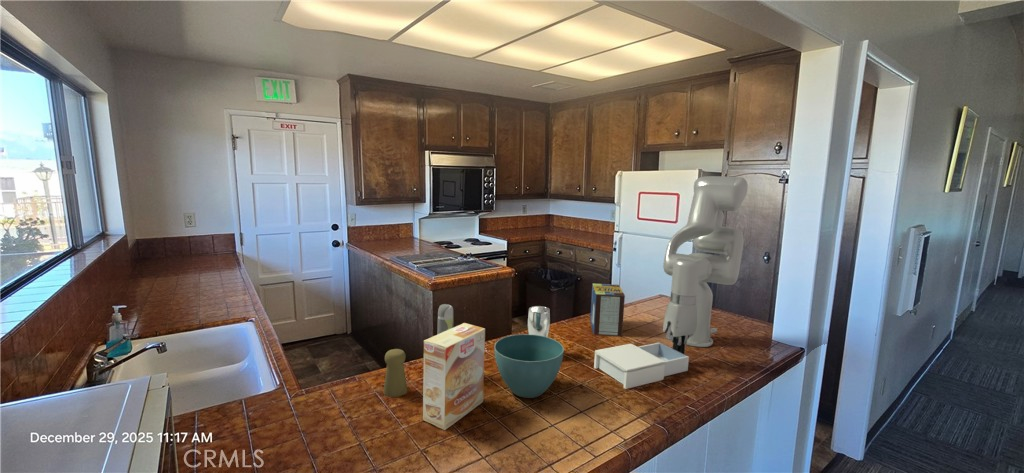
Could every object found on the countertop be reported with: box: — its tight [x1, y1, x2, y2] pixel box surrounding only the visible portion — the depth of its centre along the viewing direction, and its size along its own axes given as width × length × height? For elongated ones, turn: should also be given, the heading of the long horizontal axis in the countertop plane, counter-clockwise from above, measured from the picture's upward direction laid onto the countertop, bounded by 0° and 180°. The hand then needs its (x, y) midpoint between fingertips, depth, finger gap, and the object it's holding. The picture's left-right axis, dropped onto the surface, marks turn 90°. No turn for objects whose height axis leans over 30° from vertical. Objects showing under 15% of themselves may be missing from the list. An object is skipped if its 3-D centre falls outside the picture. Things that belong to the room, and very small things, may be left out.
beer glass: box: [527, 305, 551, 337], centre depth 136 cm, size 7×7×15 cm
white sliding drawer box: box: [598, 342, 690, 386], centre depth 128 cm, size 24×12×4 cm, turn 116°
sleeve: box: [593, 343, 665, 390], centre depth 126 cm, size 14×14×6 cm
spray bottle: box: [436, 303, 455, 335], centre depth 121 cm, size 5×5×20 cm
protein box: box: [589, 283, 626, 337], centre depth 162 cm, size 10×15×16 cm
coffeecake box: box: [422, 322, 486, 431], centre depth 102 cm, size 15×7×20 cm, turn 148°
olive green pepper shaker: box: [382, 348, 408, 398], centre depth 111 cm, size 6×6×11 cm
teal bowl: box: [493, 333, 565, 399], centre depth 113 cm, size 18×18×12 cm
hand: (677, 355), depth 134 cm, fingers closed
